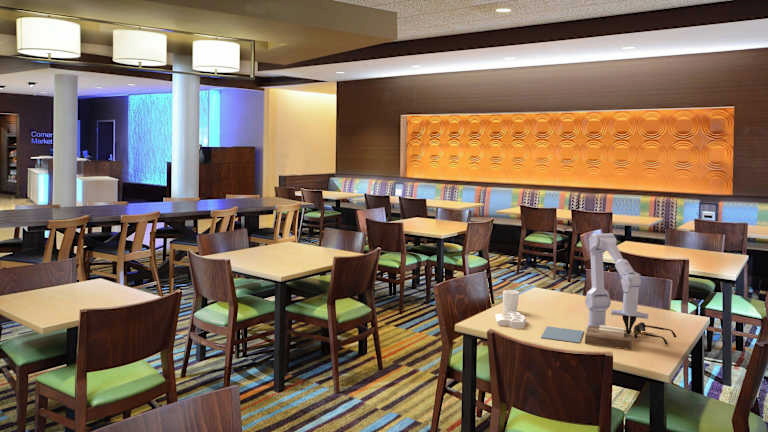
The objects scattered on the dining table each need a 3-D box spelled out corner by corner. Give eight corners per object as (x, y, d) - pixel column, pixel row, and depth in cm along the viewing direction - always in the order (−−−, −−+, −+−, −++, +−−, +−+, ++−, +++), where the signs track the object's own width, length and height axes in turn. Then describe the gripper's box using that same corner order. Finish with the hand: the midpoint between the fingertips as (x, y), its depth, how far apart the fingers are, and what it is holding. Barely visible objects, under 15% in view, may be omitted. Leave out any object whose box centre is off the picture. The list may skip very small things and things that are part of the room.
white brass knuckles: (494, 317, 294) (525, 318, 292) (497, 328, 276) (530, 329, 274) (494, 310, 293) (525, 311, 292) (498, 321, 275) (530, 322, 274)
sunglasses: (667, 346, 255) (668, 334, 254) (630, 338, 264) (631, 327, 264) (676, 338, 265) (677, 327, 265) (640, 331, 275) (641, 320, 274)
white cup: (518, 309, 307) (519, 290, 306) (517, 313, 299) (518, 294, 298) (502, 308, 309) (503, 289, 308) (501, 312, 302) (502, 292, 300)
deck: (587, 332, 270) (588, 325, 270) (631, 338, 263) (631, 330, 263) (584, 343, 255) (585, 335, 255) (630, 349, 248) (631, 341, 248)
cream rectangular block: (599, 329, 263) (599, 325, 263) (624, 332, 260) (624, 328, 259) (598, 333, 257) (598, 329, 257) (623, 337, 253) (624, 332, 253)
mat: (547, 327, 278) (547, 326, 278) (583, 331, 272) (583, 330, 272) (541, 338, 261) (541, 337, 261) (579, 343, 255) (579, 342, 255)
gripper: (611, 302, 253) (609, 333, 255) (649, 306, 248) (647, 338, 249) (612, 298, 260) (610, 329, 261) (649, 302, 254) (646, 333, 256)
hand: (628, 333), depth 256 cm, fingers closed
